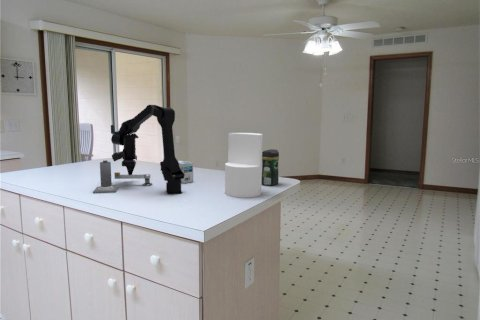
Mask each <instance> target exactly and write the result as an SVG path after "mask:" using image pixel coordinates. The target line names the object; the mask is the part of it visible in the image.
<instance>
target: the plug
mask: <svg viewBox="0 0 480 320" xmlns="http://www.w3.org/2000/svg"><path fill="white" fill-rule="evenodd" d="M111 165H112V163H111V161H108V160H103V161H101V162H99V176H100V177H99V178H100V185H99V187H100V189H101V190H108V189H112V188H113V186H114V185H113V183H112V166H111Z"/></svg>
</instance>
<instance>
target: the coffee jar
mask: <svg viewBox="0 0 480 320" xmlns="http://www.w3.org/2000/svg"><path fill="white" fill-rule="evenodd" d="M279 154H280V152H279V150H278V149H271V148H270V149H267V150H262V183H261V185H264V186H266V187H268V186H276V185H278V184H279V160H280V159H279V158H280V155H279Z"/></svg>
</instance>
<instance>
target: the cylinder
mask: <svg viewBox="0 0 480 320" xmlns="http://www.w3.org/2000/svg"><path fill="white" fill-rule="evenodd" d="M227 136H228V137H227V138H228V141H227V145H228V146H227V147H228V148H227V151H228V152H227V162H225V163H224V194H225V195H226V196H229V197H233V198H254V197H256V198H257V197H258V196H261V195H262V152H263V137H264V136H263V133H257V132H256V133H255V132H229V133H227Z"/></svg>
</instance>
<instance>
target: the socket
mask: <svg viewBox="0 0 480 320" xmlns="http://www.w3.org/2000/svg"><path fill="white" fill-rule="evenodd" d="M119 187H120V186H118V185H115V186H114V185H113V188H112V189H108V190H101V189H100V186H96V187H95V188H94V190H93V191H92V194H109V193H110V194H111V193H113V194H114V193H117V191H118V189H119Z"/></svg>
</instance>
